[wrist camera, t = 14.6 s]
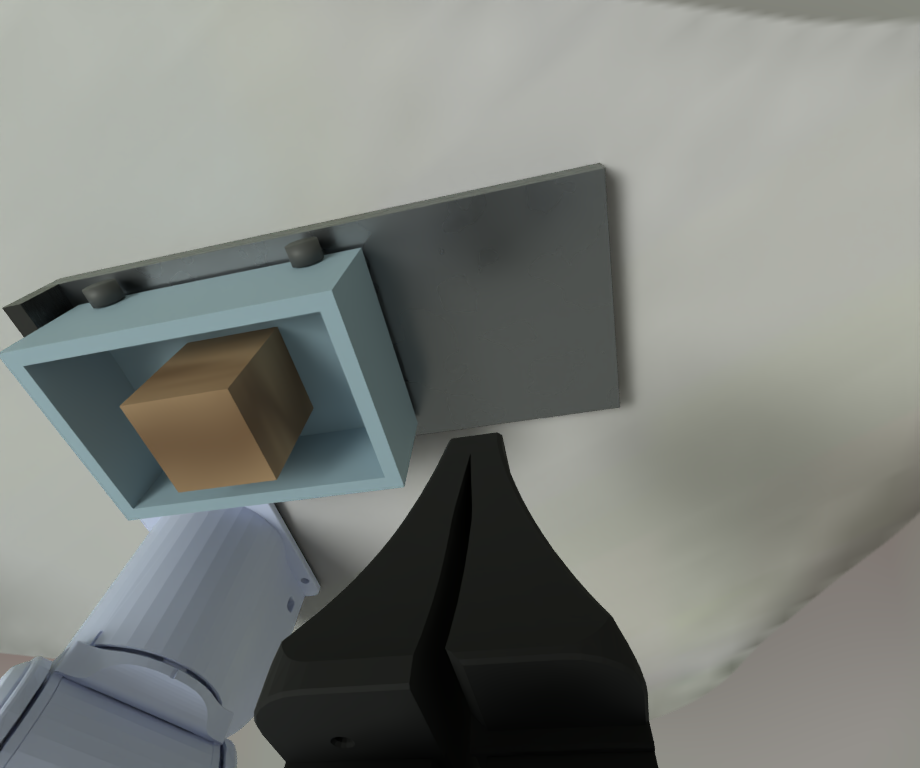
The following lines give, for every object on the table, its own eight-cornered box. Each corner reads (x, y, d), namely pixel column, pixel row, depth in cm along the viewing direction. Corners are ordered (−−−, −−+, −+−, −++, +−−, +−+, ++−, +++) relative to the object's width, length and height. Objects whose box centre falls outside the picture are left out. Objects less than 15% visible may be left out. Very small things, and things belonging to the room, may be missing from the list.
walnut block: (313, 408, 22) (276, 480, 19) (230, 420, 23) (178, 492, 19) (277, 326, 20) (227, 388, 16) (187, 342, 21) (119, 406, 17)
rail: (615, 394, 23) (629, 435, 21) (176, 456, 27) (143, 498, 24) (599, 163, 18) (616, 180, 16) (59, 278, 22) (2, 308, 19)
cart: (421, 435, 24) (409, 500, 20) (186, 468, 26) (137, 532, 22) (354, 227, 19) (322, 266, 15) (67, 287, 21) (-19, 334, 17)
